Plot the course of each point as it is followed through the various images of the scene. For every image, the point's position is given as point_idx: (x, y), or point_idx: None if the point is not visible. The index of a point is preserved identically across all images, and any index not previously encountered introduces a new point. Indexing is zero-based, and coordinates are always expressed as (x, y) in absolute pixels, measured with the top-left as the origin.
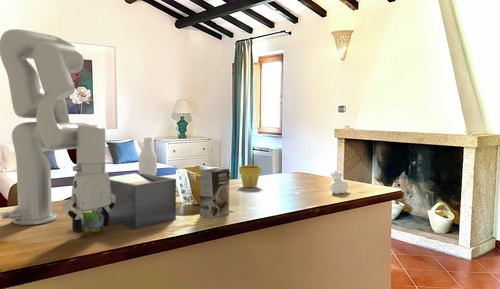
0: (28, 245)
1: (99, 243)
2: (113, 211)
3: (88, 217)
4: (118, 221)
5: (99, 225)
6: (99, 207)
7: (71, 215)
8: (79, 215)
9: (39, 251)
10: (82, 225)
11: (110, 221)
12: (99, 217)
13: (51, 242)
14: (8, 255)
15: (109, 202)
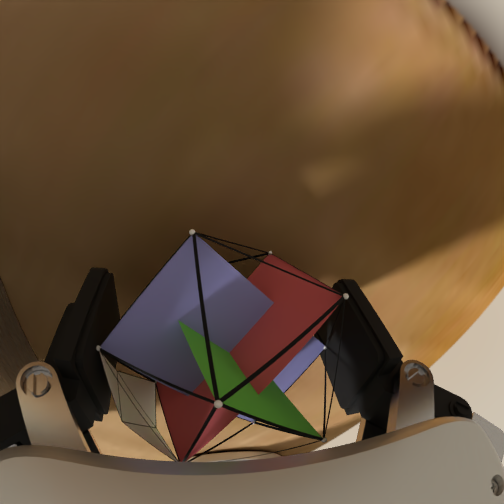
0: (433, 331)
1: (332, 77)
2: (6, 392)
3: (266, 391)
4: (4, 319)
5: (205, 265)
6: (226, 473)
7: (448, 396)
8: (410, 393)
9: (480, 254)
10: (332, 328)
11: (35, 360)
12: (138, 371)
13: (398, 313)
14: (497, 289)
15: (9, 488)
